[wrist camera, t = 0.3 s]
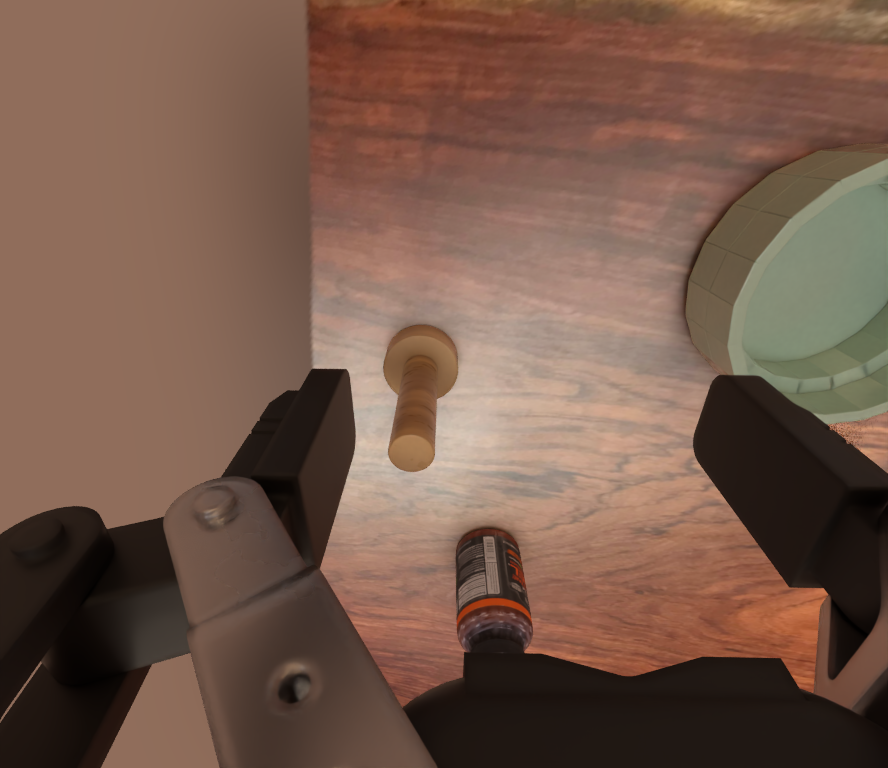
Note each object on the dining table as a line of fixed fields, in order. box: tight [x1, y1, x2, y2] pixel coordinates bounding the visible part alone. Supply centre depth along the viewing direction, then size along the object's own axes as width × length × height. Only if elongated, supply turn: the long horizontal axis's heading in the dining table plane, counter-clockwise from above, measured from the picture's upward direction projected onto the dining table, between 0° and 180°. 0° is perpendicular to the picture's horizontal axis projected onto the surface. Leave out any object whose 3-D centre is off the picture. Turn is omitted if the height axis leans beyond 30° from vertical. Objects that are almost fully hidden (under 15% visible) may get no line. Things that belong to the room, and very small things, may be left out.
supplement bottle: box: [456, 529, 533, 653], centre depth 38 cm, size 6×6×11 cm
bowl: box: [685, 143, 888, 424], centre depth 28 cm, size 16×16×6 cm
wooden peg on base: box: [383, 325, 458, 472], centre depth 29 cm, size 5×5×12 cm
